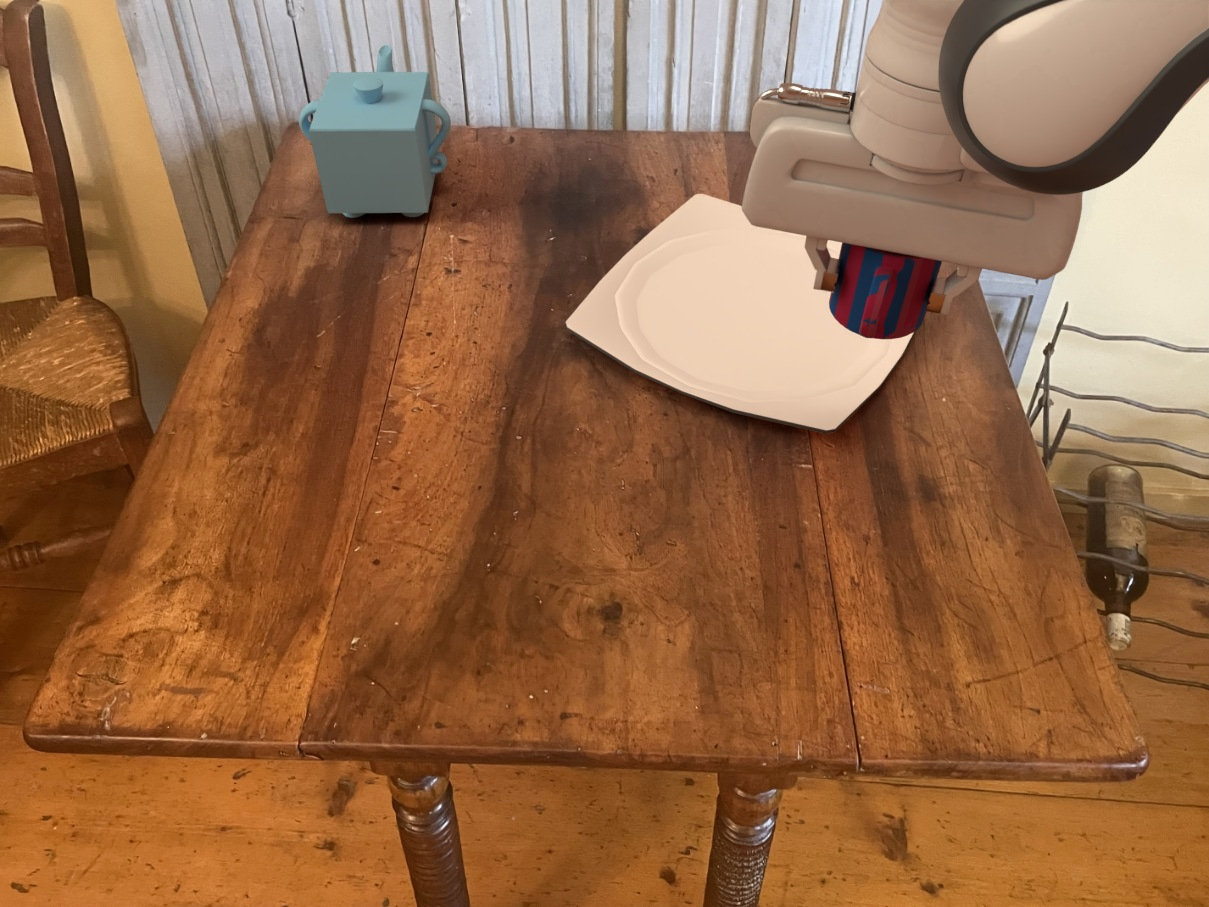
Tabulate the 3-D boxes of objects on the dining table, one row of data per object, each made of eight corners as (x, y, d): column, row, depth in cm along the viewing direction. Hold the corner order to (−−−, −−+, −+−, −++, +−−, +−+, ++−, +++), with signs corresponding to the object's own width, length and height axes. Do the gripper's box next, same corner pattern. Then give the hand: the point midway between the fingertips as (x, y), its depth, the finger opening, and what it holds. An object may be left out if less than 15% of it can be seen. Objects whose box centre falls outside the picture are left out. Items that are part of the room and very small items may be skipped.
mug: (934, 298, 71) (960, 217, 66) (894, 380, 65) (919, 298, 60) (845, 271, 73) (864, 191, 69) (799, 348, 67) (815, 266, 62)
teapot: (454, 225, 104) (439, 110, 95) (306, 226, 104) (276, 111, 95) (467, 139, 117) (456, 30, 107) (335, 140, 116) (312, 30, 107)
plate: (835, 471, 80) (841, 448, 78) (543, 350, 90) (542, 328, 88) (948, 289, 97) (955, 266, 95) (690, 204, 107) (692, 183, 105)
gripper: (744, 102, 57) (721, 294, 67) (1117, 162, 53) (1033, 357, 63) (766, 55, 61) (741, 243, 71) (1114, 108, 57) (1035, 299, 67)
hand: (880, 297), depth 67 cm, fingers closed on mug, 6 cm apart
